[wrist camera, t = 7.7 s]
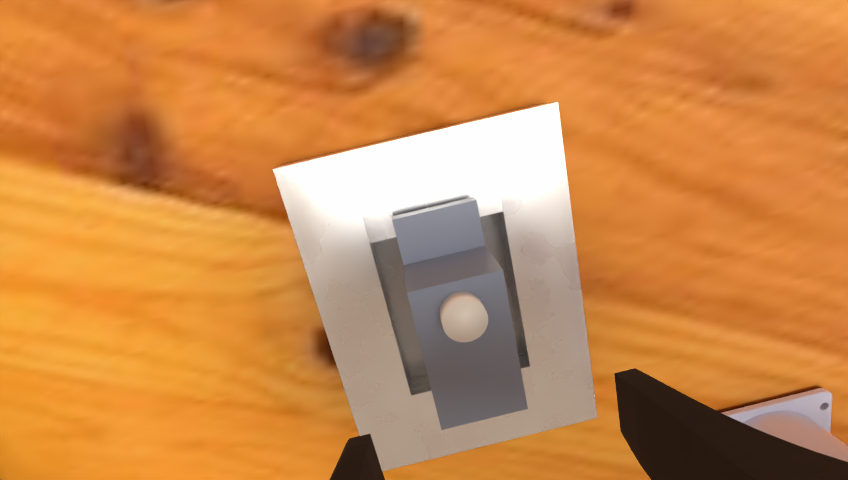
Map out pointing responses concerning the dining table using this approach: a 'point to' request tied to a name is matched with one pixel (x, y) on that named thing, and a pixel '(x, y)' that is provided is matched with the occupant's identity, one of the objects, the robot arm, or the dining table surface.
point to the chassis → (385, 280)
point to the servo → (460, 313)
